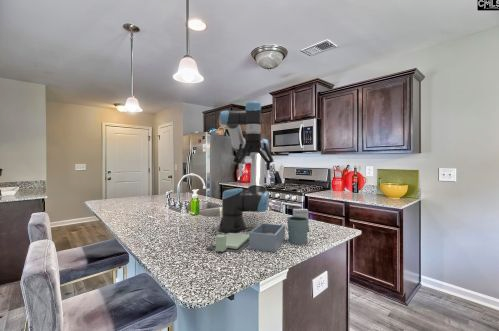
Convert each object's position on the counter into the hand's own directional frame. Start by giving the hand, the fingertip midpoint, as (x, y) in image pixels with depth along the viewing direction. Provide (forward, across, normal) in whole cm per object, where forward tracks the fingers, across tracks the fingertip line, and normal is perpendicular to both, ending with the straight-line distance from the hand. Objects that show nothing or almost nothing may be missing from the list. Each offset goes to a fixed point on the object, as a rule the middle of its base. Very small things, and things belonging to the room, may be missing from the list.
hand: (253, 176), depth 123 cm
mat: (+32, -7, -9) cm, 34 cm away
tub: (+32, +9, -5) cm, 33 cm away
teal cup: (+32, +21, +4) cm, 39 cm away
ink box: (+32, +19, +28) cm, 47 cm away
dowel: (+31, +9, -1) cm, 32 cm away
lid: (+31, -7, -12) cm, 33 cm away
